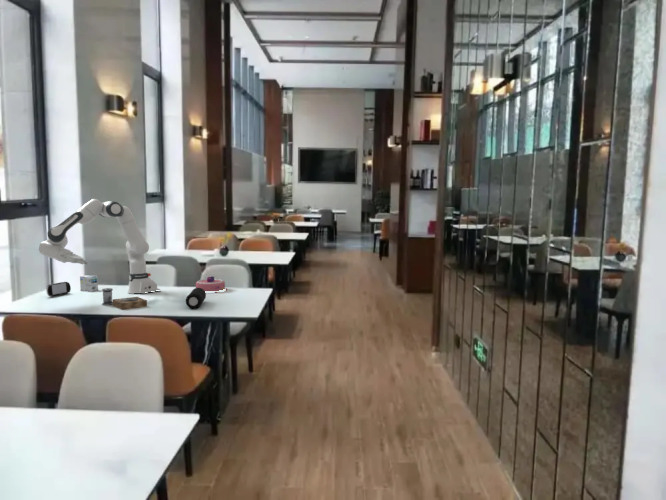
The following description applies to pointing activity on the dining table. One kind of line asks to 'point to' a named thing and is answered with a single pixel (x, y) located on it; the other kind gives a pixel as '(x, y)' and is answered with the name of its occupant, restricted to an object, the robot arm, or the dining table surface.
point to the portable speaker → (195, 298)
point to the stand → (129, 303)
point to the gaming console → (58, 289)
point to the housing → (107, 296)
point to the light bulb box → (88, 283)
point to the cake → (211, 284)
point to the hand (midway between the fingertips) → (85, 263)
